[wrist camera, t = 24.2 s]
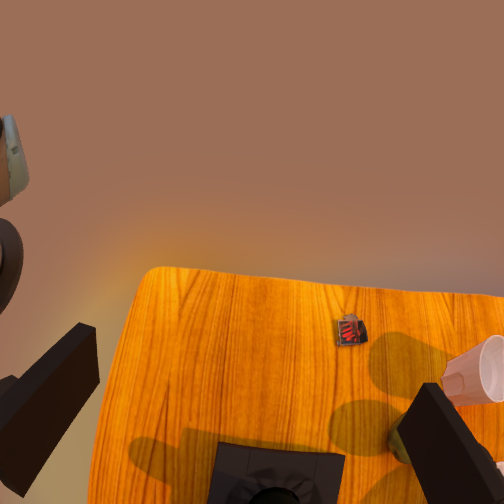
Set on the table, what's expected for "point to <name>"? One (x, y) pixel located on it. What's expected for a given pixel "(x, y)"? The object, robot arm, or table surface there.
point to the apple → (397, 444)
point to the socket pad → (274, 474)
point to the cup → (476, 374)
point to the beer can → (273, 497)
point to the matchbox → (351, 331)
